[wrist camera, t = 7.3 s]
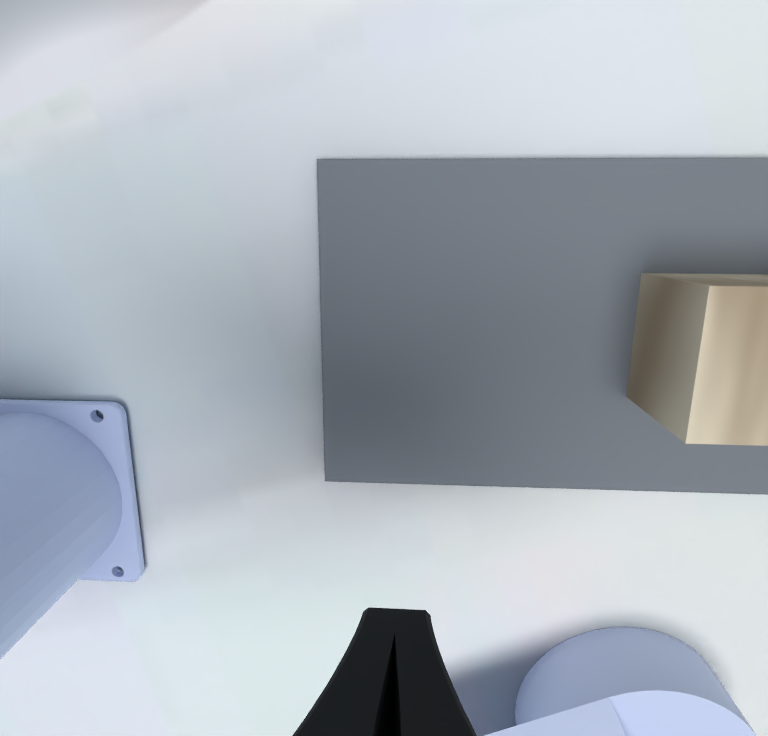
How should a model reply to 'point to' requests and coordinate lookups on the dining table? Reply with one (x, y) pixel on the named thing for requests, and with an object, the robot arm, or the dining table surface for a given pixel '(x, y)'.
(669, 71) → the dining table surface
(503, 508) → the dining table surface
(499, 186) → the rubber mat
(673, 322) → the maple block
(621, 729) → the wedge on round base
